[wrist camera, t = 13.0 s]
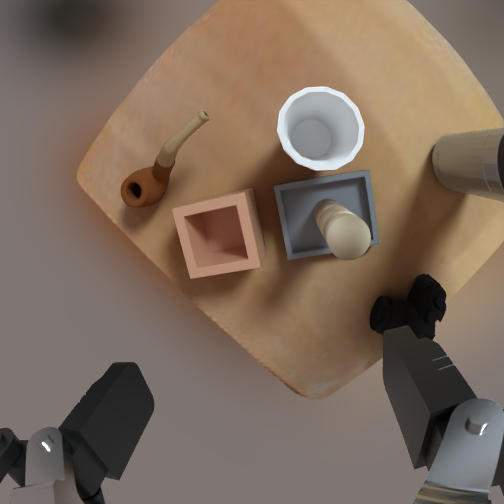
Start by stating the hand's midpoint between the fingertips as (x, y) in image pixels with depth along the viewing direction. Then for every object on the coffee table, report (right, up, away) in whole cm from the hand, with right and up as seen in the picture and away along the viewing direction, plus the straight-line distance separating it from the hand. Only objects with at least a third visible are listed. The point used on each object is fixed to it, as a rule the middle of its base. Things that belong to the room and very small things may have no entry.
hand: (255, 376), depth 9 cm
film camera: (+25, -6, +39) cm, 47 cm away
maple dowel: (+11, +9, +35) cm, 38 cm away
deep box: (-4, +8, +38) cm, 39 cm away
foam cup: (+9, +20, +33) cm, 40 cm away
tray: (+11, +10, +36) cm, 39 cm away
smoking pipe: (-12, +18, +36) cm, 42 cm away
